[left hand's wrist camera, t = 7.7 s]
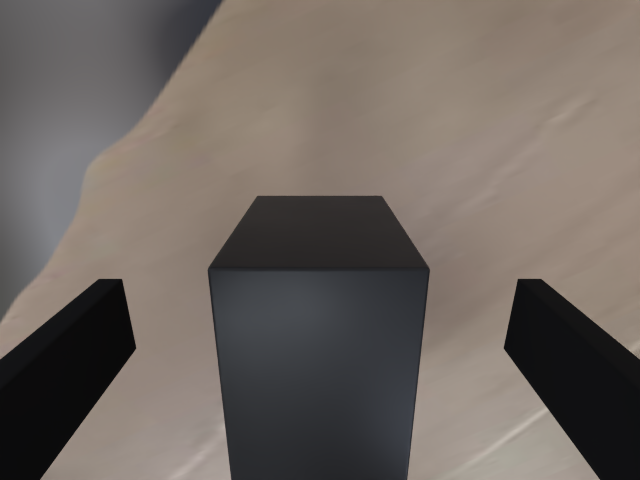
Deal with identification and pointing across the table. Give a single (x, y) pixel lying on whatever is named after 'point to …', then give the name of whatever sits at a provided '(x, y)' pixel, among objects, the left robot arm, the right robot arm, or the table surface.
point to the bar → (319, 339)
